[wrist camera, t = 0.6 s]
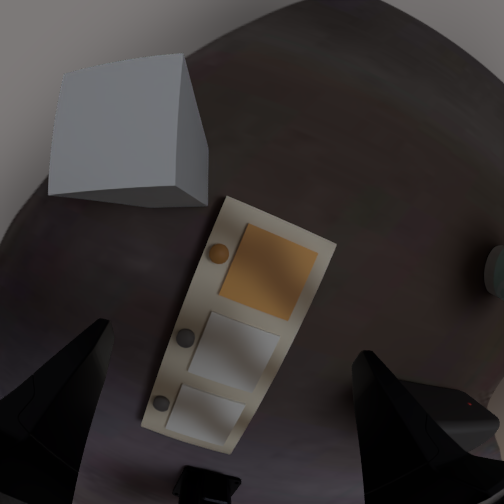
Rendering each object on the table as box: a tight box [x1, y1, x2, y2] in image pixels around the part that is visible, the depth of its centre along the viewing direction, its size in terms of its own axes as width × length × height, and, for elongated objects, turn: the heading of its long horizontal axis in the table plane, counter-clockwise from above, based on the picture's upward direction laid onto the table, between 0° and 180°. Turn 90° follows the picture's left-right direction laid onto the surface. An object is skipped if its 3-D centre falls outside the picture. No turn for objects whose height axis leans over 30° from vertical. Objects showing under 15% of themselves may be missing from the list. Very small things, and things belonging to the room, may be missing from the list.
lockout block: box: [48, 53, 209, 208], centre depth 15 cm, size 4×4×14 cm
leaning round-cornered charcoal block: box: [399, 380, 500, 452], centre depth 21 cm, size 16×5×9 cm, turn 68°
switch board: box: [141, 196, 337, 454], centre depth 22 cm, size 22×9×2 cm, turn 157°
